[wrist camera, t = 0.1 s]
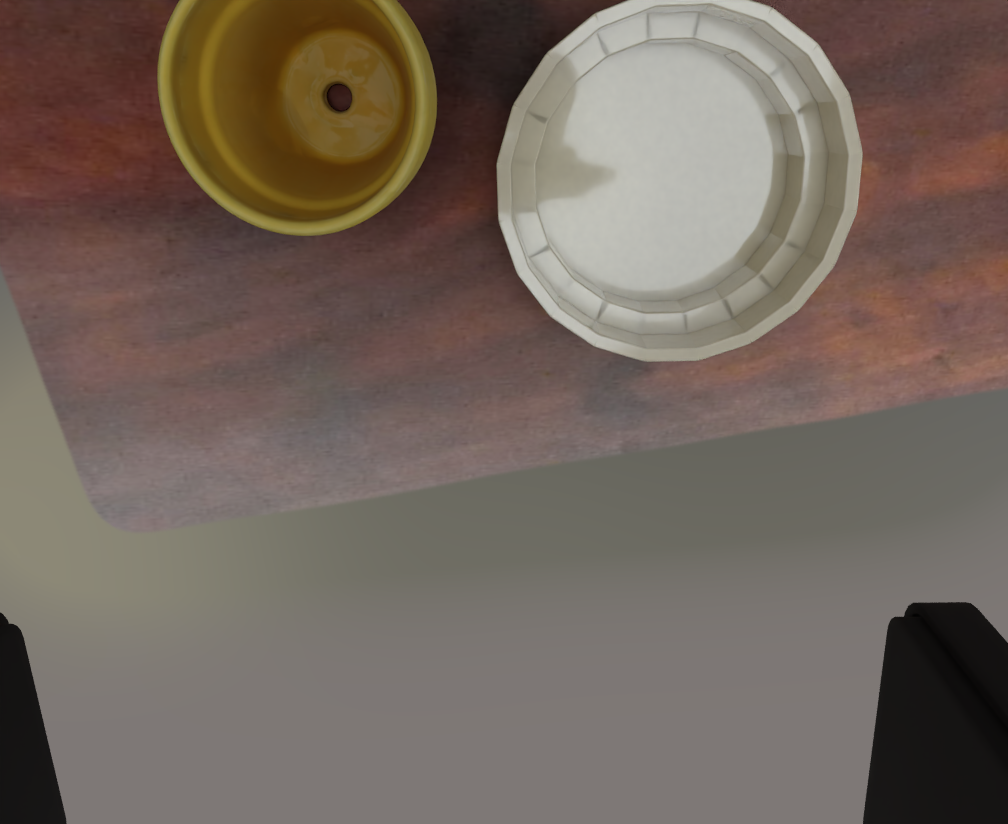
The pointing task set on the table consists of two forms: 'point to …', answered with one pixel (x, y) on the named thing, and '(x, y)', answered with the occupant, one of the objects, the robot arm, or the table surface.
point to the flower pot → (297, 107)
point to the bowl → (678, 176)
